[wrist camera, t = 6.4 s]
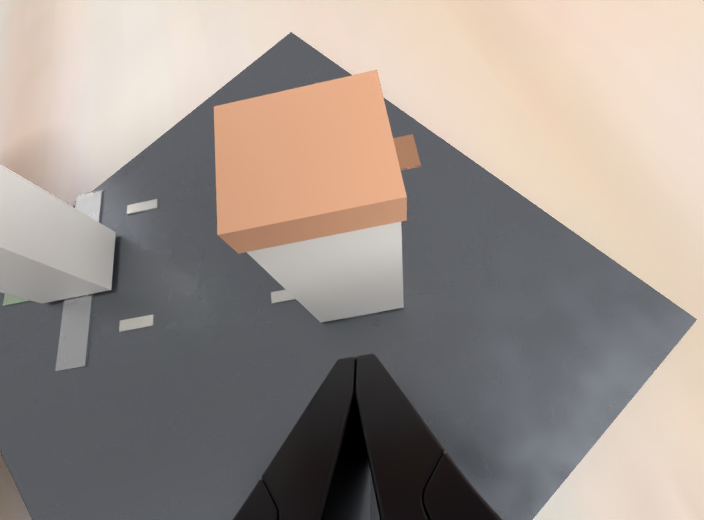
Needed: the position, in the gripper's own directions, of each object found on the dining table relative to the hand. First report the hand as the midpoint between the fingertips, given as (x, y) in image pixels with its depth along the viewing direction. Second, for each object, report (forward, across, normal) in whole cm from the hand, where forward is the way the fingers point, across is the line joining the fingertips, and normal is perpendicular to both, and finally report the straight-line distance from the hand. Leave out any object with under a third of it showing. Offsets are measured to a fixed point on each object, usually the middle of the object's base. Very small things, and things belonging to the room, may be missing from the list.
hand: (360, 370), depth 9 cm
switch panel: (+8, +4, +3) cm, 9 cm away
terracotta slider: (+8, 0, +2) cm, 8 cm away
